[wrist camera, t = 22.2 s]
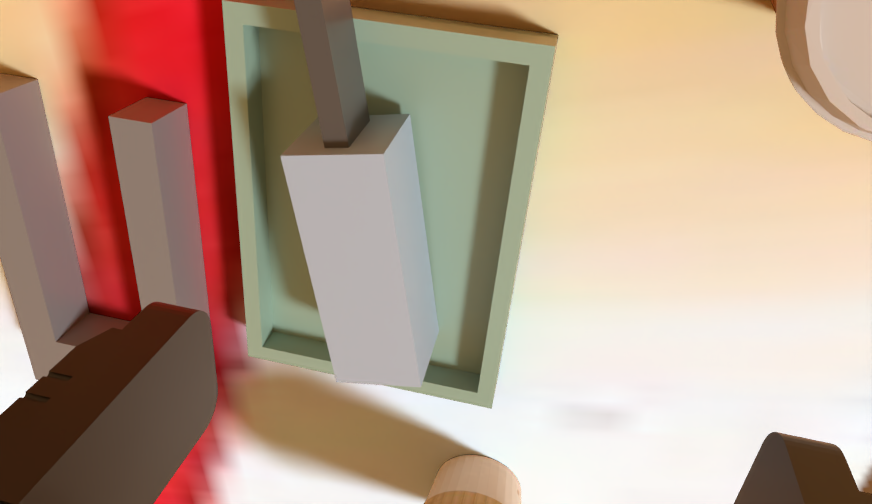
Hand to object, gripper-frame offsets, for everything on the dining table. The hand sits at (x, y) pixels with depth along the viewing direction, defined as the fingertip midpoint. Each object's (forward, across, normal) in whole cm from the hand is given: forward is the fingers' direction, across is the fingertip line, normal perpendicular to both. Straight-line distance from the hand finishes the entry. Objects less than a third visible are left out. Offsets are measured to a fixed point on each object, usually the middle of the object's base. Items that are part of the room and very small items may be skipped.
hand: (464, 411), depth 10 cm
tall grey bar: (+25, +9, +8) cm, 27 cm away
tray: (+26, +8, +11) cm, 29 cm away
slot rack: (+26, +26, +17) cm, 41 cm away
